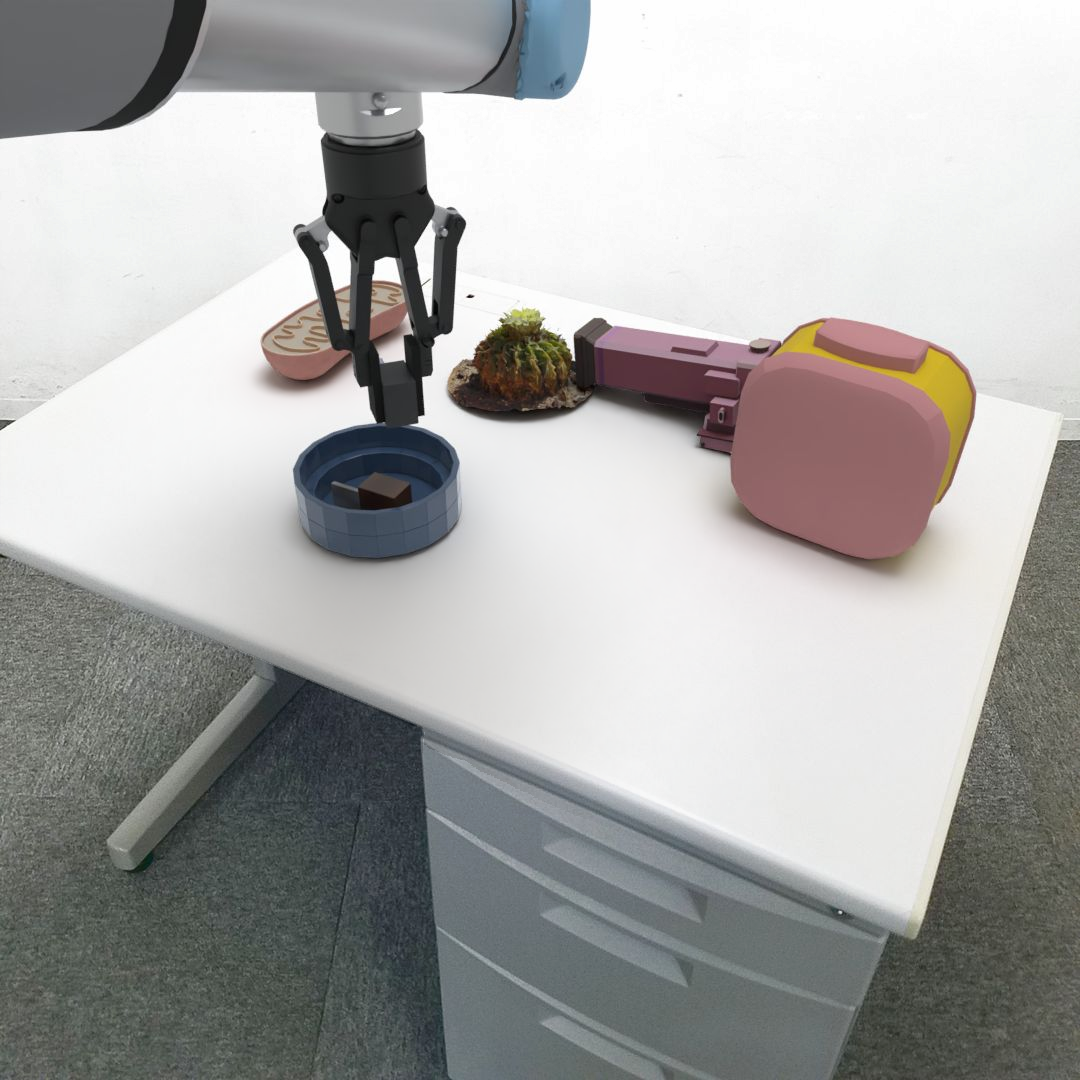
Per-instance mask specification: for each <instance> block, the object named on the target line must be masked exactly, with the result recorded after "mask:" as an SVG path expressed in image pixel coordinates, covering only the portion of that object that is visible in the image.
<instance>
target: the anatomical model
mask: <svg viewBox="0 0 1080 1080" xmlns="http://www.w3.org/2000/svg"><path fill="white" fill-rule="evenodd" d="M334 291H335V296H336V300H337V304H338V309H339V313H340V317H341V321H342V326H343V329H347V330H349V306H350V284H347V285H345V286H343V287H340V288H338V289H336V290H335V289H334ZM407 315H408V312H407V307H406V303H405V298H404V294H403V290H402V285H401V283H398V282H395V281H390V280H381V279H372V299H371V321H370V340H372V341H373V340H376V339H378V338H379V337H381V336H384V334H388V333H389V332H391V331H392V330H395V329H396V328H397V327H399V326H400V325H401V324H402V323H403V321H404V320H405V318H406V317H407ZM259 342H260V346H261V350H262V353H263V355H264V357H265V360H266V361H267V362H268V364H269V365H270V366H271V367H272V368H273V369H274V370H275V371H276V372H278V373H279V374H281V375H283V376H284V377H285V378H289V379H292V380H293V379H294V380H298V381H308V380H313V379H316V378H319V377H321V376H323V375H324V374H326V373H327V372H328V371H329V370H330V369H332V368H333V367H334V366H336V364H338V363H339V362H340V361H341V360H342V359H343V358H345V357H346V356H348V355H349V354H351V352H350V351H348V350H342V351H336V350H334V349H333V347H332V345H331V343H330V341H329V339H328V336H327V334H326V331H325V326H324V322H323V318H322V314H321V310H320V306H319V302H318V298H316V299H313V300H311V301H309V302H308V303H306V304H304V305H302V306H301V307H299V308H296V310H294V311H292V312H291V313H289V314H287V315H286V316H284V317H283V318H282V319H280V320H279V321H278V322H276V323H275V324H273V325H272V326H270V328H268V329H267V330H266V331H265V332H264V333H263V334H262V335H261V337H260V341H259Z"/></svg>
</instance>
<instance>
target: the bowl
mask: <svg viewBox="0 0 1080 1080" xmlns="http://www.w3.org/2000/svg"><path fill="white" fill-rule="evenodd" d="M374 472H376V473H380V474H383V475H386V476H389V477H392V478H396V479H399V480H402V481H405V482H409V483H411V494H412V503H410V504H407V505H404V506H401V507H396V508H389V509H382V510H352V509H346V508H342V507H338V506H335V505H334V500H333V493H332V486H331V483H332V482H333V481H336V482H339V483H342V484H345V485H348V486H351V487H355V488H358V486H359V485H360V484H362V483H363V482H364V481H365V480H366V479H367V478H368V477H370V476H371V475H372V474H373V473H374ZM292 474H293V475H292V476H293V484H294V490H295V495H296V501H297V507H298V513H299V519H300V524H301V527H302V529H303V530H304V532H305V533H306V534H307V535H308V537H309V538H310V540H311V541H313V542H315V543H316V544H318V545H320V546H322V547H323V548H325V549H327V550H328V551H331V552H334V553H338V554H342V555H345V556H350V557H352V558H353V557H354V558H372V559H381V558H386V557H387V558H388V557H395V556H402V555H406V554H410V553H412V552H415V551H418V550H420V549H423V548H426V547H429V546H430V545H432V544H433V543H435V542H436V541H438V540H439V539H441V538H442V537H444V536H446V535H447V534H448V533H449V532H450V531H451V529H452V528H453V526H454V525H455V524H456V522H457V521H458V520H459V518H460V513H461V508H462V485H461V461H460V459H459V455H458V453H457V451H456V448H455V447H454V446H453V445H452V444H451V443H449V442H448V440H447V439H445V437H443V436H442V435H439V434H437V433H435V432H433V431H432V430H429V429H427V428H424V427H420V426H416V425H406V426H401V427H395V428H389V429H387V427H386V425H385V423H379V424H377V423H376V422H375V423H374V422H373V423H367V424H366V423H365V424H358V425H352V426H349V427H346V428H343V429H339V430H336V431H332V432H330V433H328V434H326V435H324V436H323V437H321V438H318V439H316V440H315V441H313V442H311V444H310V445H308V446H307V448H305V449H304V450H303V451H301V453H300V454H299V455H298V458H297V459H296V461H295V463H294V465H293V468H292Z"/></svg>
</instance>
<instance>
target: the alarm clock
mask: <svg viewBox="0 0 1080 1080" xmlns="http://www.w3.org/2000/svg"><path fill="white" fill-rule="evenodd" d="M976 404H977V389H976V387H975V384H974V382H973V378H972V376H971V373H970V371H969V369H968V368H967V367H966V366H965V364H964V363H963V362H962V361H961V360H960V359H959V358H958V357H957V356H956V355H955V354H954V353H953V352H952V351H950V350H948V349H946V348H944V347H942V346H940V345H937V344H936V343H933V342H931V341H929V340H926V339H923V338H922V339H921V338H919V337H915V336H912V335H910V334H906V333H904V332H901V331H898V330H895V329H892V328H888V327H885V326H881V325H876V324H872V323H868V322H863V321H859V320H853V319H847V318H837V317H821V318H817V319H815V320H812V321H809V322H807V323H804V324H800V325H798V326H797V327H796V328H795V329H794V330H792V332H791V333H789V334H788V335H787V337H785V338H784V339H783V341H782V342H781V347H780V348H779V349H778V350H777V351H776V352H775V353H774V354H773V355H772V356H771V357H768V358H765V359H764V360H762V361H761V362H760V363H759V364H758V365H757V366H756V367H755V368H754V369H753V370H752V371H751V372H750V373H749V374H748V377H747V379H746V382H745V384H744V387H743V389H742V392H741V396H740V403H739V409H738V415H737V421H736V427H735V433H734V439H733V446H732V452H731V453H730V458H729V465H730V483H731V484H732V487H733V489H734V491H735V494H736V496H737V498H738V500H739V502H740V503H741V504H742V505H743V506H744V507H745V508H746V509H747V510H748V512H750V514H752V516H753V517H754V518H756V519H758V520H760V521H761V522H763V523H765V524H767V525H768V526H770V527H772V528H773V529H777V530H779V531H782V532H785V533H787V534H789V535H792V536H795V537H798V538H800V539H803V540H806V541H809V542H811V543H814V544H817V545H819V546H822V547H825V548H827V549H830V550H833V551H836V552H837V553H840V554H843V555H847V556H850V557H855V558H859V559H865V560H877V559H885V558H893V557H897V556H899V555H900V554H902V553H904V552H905V551H907V550H909V549H910V548H912V547H914V546H915V545H916V544H917V542H918V540H919V539H920V537H922V534H923V533H924V531H925V529H926V528H927V525H928V522H929V519H930V516H931V513H932V511H933V509H935V507H936V506H937V505H939V504H940V503H941V502H942V500H943V499H944V497H945V496H946V494H947V493H948V491H949V490H950V488H951V486H952V484H953V481H954V478H955V476H956V472H957V469H958V467H959V464H960V461H961V458H962V455H963V452H964V449H965V446H966V443H967V440H968V437H969V434H970V432H971V428H972V426H973V422H974V419H975V416H976V415H975V414H976Z"/></svg>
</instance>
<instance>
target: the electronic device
mask: <svg viewBox="0 0 1080 1080" xmlns="http://www.w3.org/2000/svg"><path fill="white" fill-rule="evenodd" d="M781 345H782V341H781V340H777V339H769V338H762V337H758V339H753V340H751V341H749V344H744V343H737V342H731V341H725V340H716V339H711V338H710V339H709V338H703V337H696V336H689V335H684V334H683V335H682V334H675V333H668V332H661V331H654V330H648V329H640V328H635V327H627V326H620V325H611V324H610V323H608V322H607V319H605V318H603V317H593V318H592V319H591V320H589V321H587V322H586V323H585V324H584V325H583V326H581V327H580V328H579V329H578V330H576V331H575V332H574V333H573V351H574V352H573V353H574V361H575V367H576V382H577V388H584V389H586V388H589V387H590V386H592V385H594V386H595V385H598V386H601V387H606V388H610V389H618V390H622V391H629V392H634V393H640V394H643V400H644V401H645V402H646V403H649V404H653V405H660V406H666V407H672V408H677V409H681V410H687V411H693V412H698V413H704V414H705V416H704V421H703V426H702V427H701V429H699V430H698V432H697V433H696V437H697V436H698V437H699V447H701V448H706V449H710V450H711V449H712V450H715V451H720V452H725V453H726V452H727V453H730V454H731V452H732V446H733V439H734V433H735V427H736V421H737V415H738V409H739V403H740V396H741V392H742V389H743V387H744V384H745V382H746V379H747V377H748V374H749V373H750V372H751V371H752V370H753V369H754V368H755V367H756V366H757V365H758V364H759V363H760V362H761V361H762V360H764V359H765V358H768V357H771V356H772V355H773V354H774V353H775V352H776V351H777V350H778V349H779V348H780V347H781Z"/></svg>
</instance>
